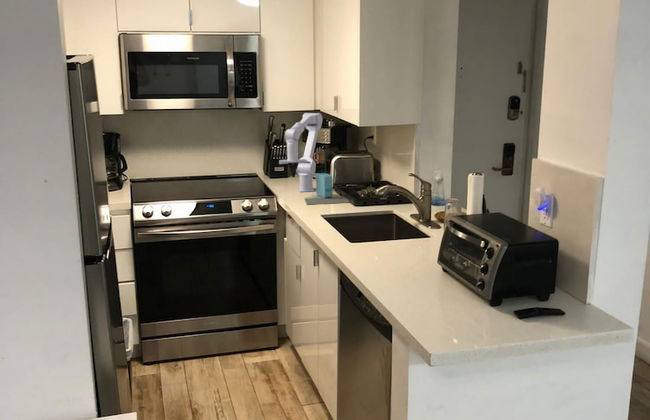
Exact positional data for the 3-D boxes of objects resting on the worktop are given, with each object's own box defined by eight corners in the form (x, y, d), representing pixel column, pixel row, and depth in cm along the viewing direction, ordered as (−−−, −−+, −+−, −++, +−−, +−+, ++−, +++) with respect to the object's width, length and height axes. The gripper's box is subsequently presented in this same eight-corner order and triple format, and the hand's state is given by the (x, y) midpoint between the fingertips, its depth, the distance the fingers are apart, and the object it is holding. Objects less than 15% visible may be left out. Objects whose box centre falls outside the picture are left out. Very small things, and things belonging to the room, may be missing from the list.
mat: (304, 199, 353) (304, 198, 353) (345, 196, 355) (345, 196, 355) (306, 204, 339) (306, 204, 339) (349, 202, 342) (349, 202, 342)
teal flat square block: (332, 197, 352) (332, 175, 350) (324, 198, 351) (324, 176, 348) (324, 194, 363) (323, 172, 361) (316, 195, 362) (315, 173, 359)
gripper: (279, 153, 351) (280, 178, 354) (306, 152, 353) (307, 177, 356) (278, 151, 358) (279, 176, 361) (305, 150, 360) (306, 175, 362)
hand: (293, 177), depth 359 cm, fingers closed
